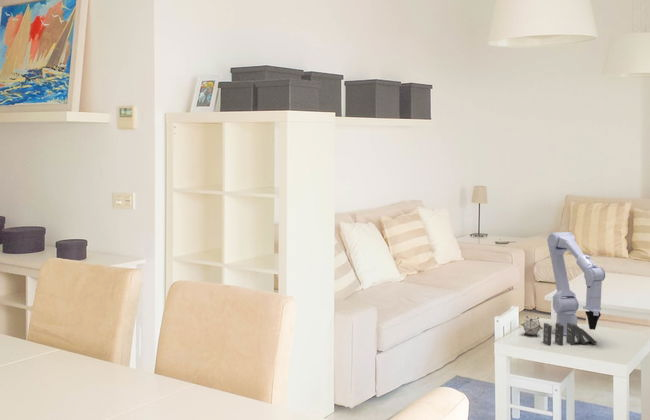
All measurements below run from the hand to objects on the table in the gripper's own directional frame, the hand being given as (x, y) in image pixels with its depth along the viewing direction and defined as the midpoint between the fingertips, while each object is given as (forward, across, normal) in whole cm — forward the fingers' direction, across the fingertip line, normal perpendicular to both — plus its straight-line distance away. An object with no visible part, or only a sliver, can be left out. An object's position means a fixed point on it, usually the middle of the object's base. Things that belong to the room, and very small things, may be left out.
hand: (592, 329), depth 314 cm
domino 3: (+6, +2, -9) cm, 11 cm away
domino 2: (+6, +4, -14) cm, 15 cm away
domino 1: (+6, +5, -18) cm, 20 cm away
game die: (+6, -8, -23) cm, 25 cm away
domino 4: (+6, +1, -4) cm, 7 cm away
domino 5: (+5, 0, +1) cm, 5 cm away
